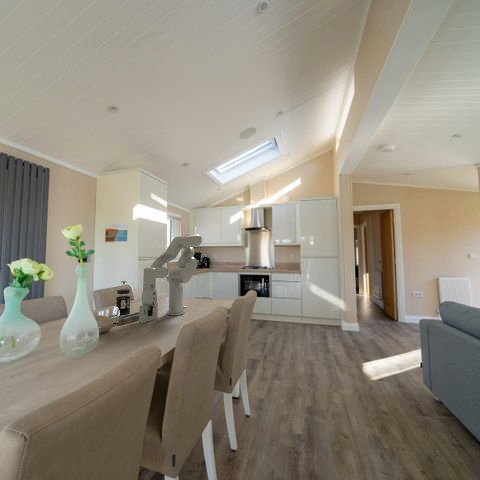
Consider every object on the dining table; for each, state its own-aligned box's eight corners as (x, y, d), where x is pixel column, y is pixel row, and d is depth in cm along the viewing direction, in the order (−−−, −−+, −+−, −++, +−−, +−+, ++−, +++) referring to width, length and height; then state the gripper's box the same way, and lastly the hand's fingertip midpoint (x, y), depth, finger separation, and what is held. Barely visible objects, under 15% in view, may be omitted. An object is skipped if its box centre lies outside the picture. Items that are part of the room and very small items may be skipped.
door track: (138, 315, 168) (139, 311, 168) (149, 317, 162) (149, 313, 162) (110, 322, 151) (110, 317, 151) (120, 325, 145) (120, 320, 145)
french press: (120, 312, 176) (121, 280, 177) (133, 312, 175) (134, 280, 176) (110, 316, 164) (112, 282, 165) (124, 316, 164) (125, 282, 165)
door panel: (154, 317, 162) (155, 302, 162) (157, 318, 160) (158, 303, 161) (139, 322, 152) (139, 306, 152) (141, 323, 150) (142, 306, 151)
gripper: (162, 287, 156) (161, 316, 155) (146, 285, 165) (145, 312, 164) (152, 288, 150) (151, 318, 149) (136, 286, 158) (135, 314, 158)
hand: (148, 315), depth 156 cm, fingers closed on door panel, 2 cm apart
